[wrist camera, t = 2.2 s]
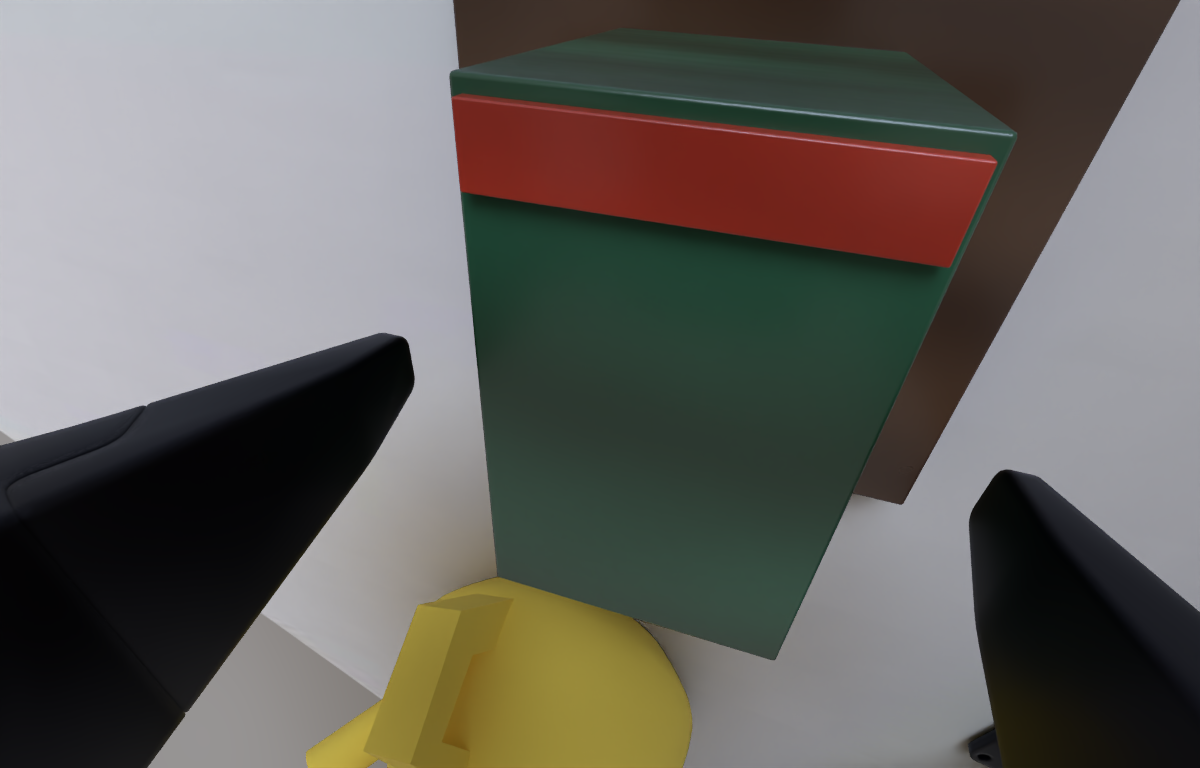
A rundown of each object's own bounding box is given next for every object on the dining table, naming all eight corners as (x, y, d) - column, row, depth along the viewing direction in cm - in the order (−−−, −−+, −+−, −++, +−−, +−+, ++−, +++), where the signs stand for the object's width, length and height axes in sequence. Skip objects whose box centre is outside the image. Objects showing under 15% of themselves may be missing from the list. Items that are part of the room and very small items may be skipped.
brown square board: (896, 470, 17) (903, 506, 16) (506, 382, 20) (487, 407, 19) (1176, -74, 10) (1227, -81, 8) (477, -100, 12) (442, -110, 11)
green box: (786, 425, 16) (774, 675, 10) (597, 383, 17) (491, 587, 11) (908, 51, 10) (1030, 138, 5) (618, 27, 11) (434, 73, 6)
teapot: (307, 510, 29) (97, 733, 20) (643, 514, 22) (536, 864, 13) (464, 717, 39) (366, 927, 30) (731, 768, 31) (703, 1063, 23)
